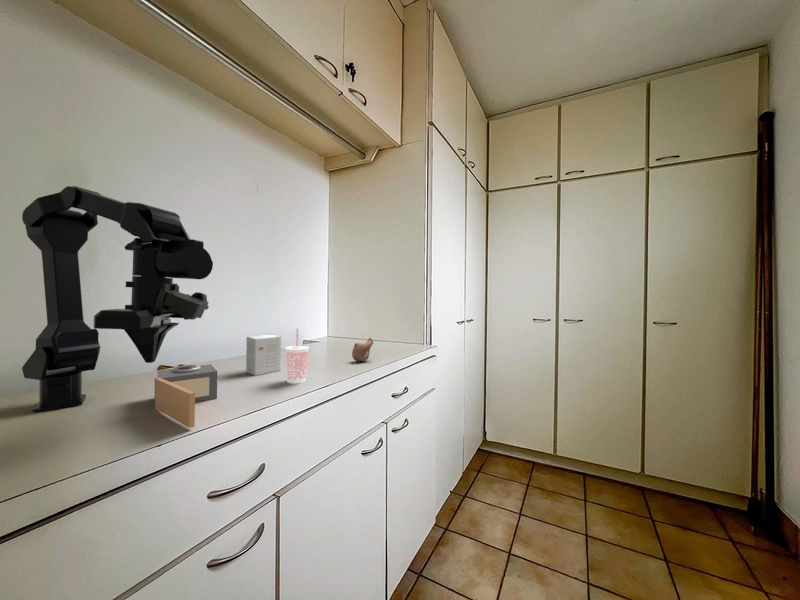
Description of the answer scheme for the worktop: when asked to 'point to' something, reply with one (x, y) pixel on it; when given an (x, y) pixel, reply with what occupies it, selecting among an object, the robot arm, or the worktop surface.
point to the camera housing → (194, 379)
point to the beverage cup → (296, 362)
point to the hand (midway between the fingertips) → (150, 362)
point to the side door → (175, 402)
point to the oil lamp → (362, 350)
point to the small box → (263, 354)
